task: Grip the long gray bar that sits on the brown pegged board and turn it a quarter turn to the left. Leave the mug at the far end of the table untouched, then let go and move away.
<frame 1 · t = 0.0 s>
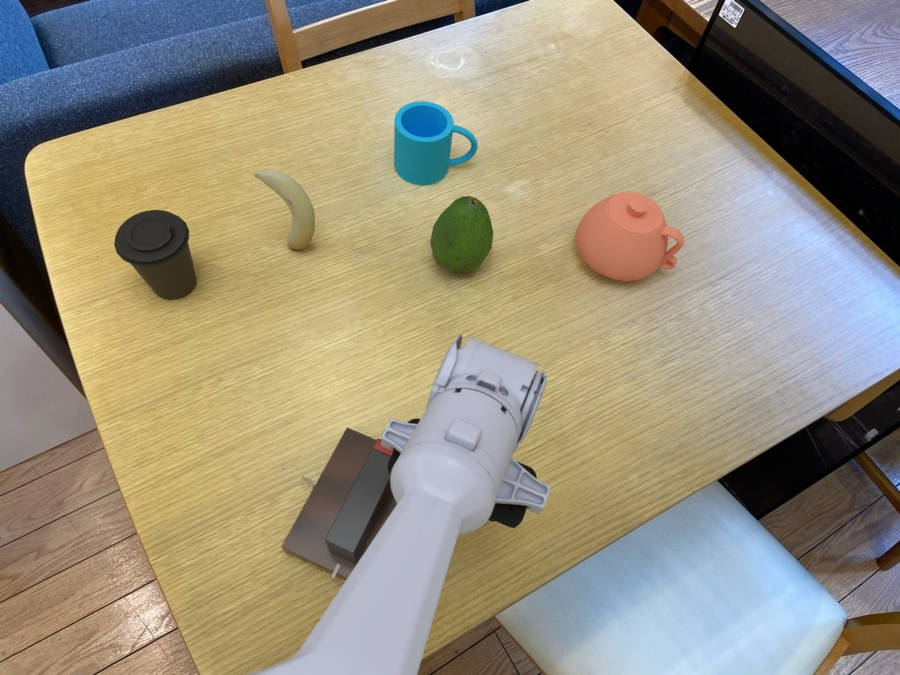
hand: (455, 494, 60), 8 cm above the table, tool pointing down, fingers open, 7 cm apart
mug: (434, 166, 93), on the table
gray bar: (366, 499, 62), point 5 cm above the table, hinge at 0.0°
fruit 2: (457, 263, 85), on the table
sugar bowl: (619, 257, 87), on the table
coffee cup: (175, 283, 79), on the table
brown pegged board: (367, 512, 66), on the table
fruit: (293, 244, 84), on the table
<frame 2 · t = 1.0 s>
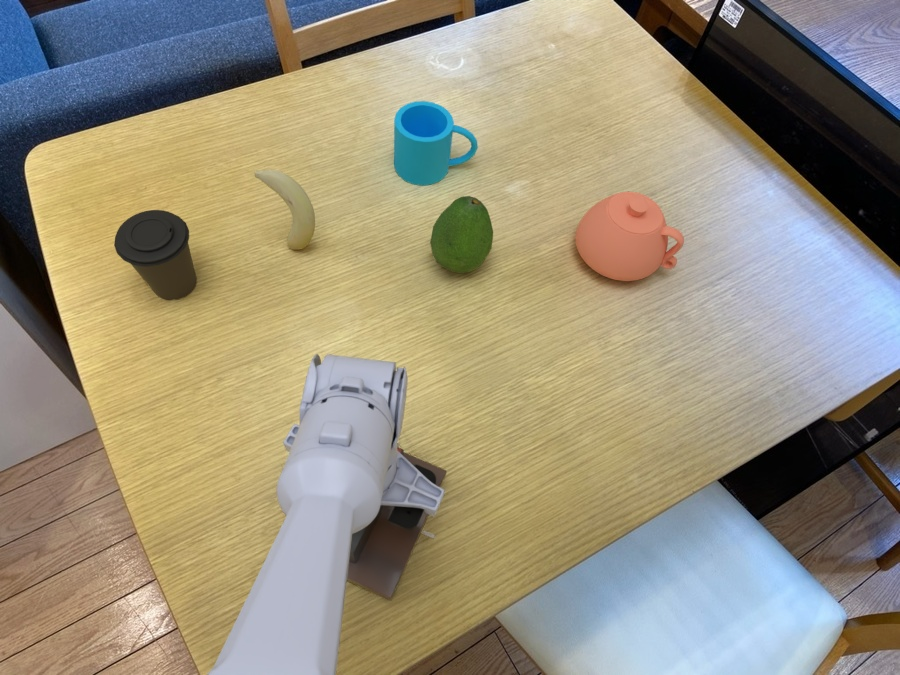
hand: (366, 496, 62), 6 cm above the table, tool pointing down, fingers open, 7 cm apart
nothing on the table moved.
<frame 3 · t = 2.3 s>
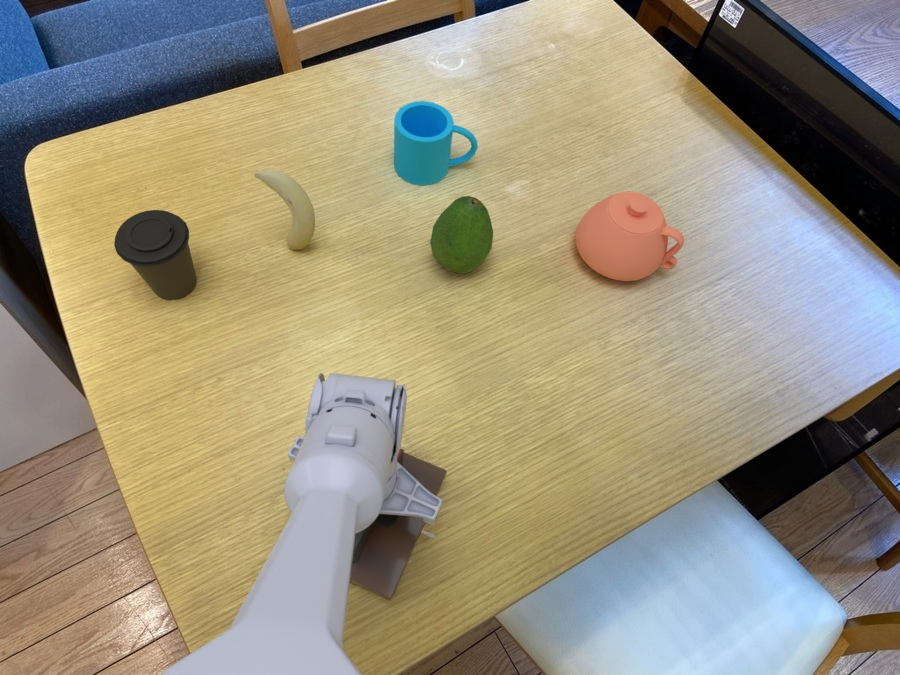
hand: (367, 504, 64), 3 cm above the table, tool pointing down, fingers closed on gray bar, 3 cm apart
gray bar: (366, 499, 62), point 5 cm above the table, hinge at -0.1°, touching gripper
everything else where it was.
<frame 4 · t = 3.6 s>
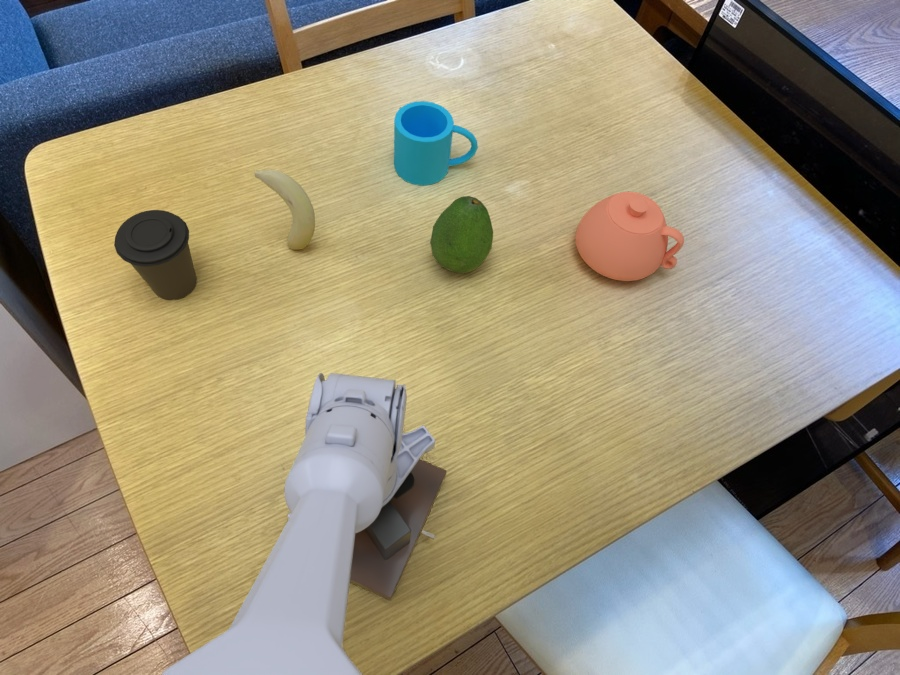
hand: (367, 504, 64), 3 cm above the table, tool pointing down, fingers closed on gray bar, 3 cm apart
gray bar: (366, 499, 62), point 5 cm above the table, hinge at 59.9°, touching gripper
everything else where it was.
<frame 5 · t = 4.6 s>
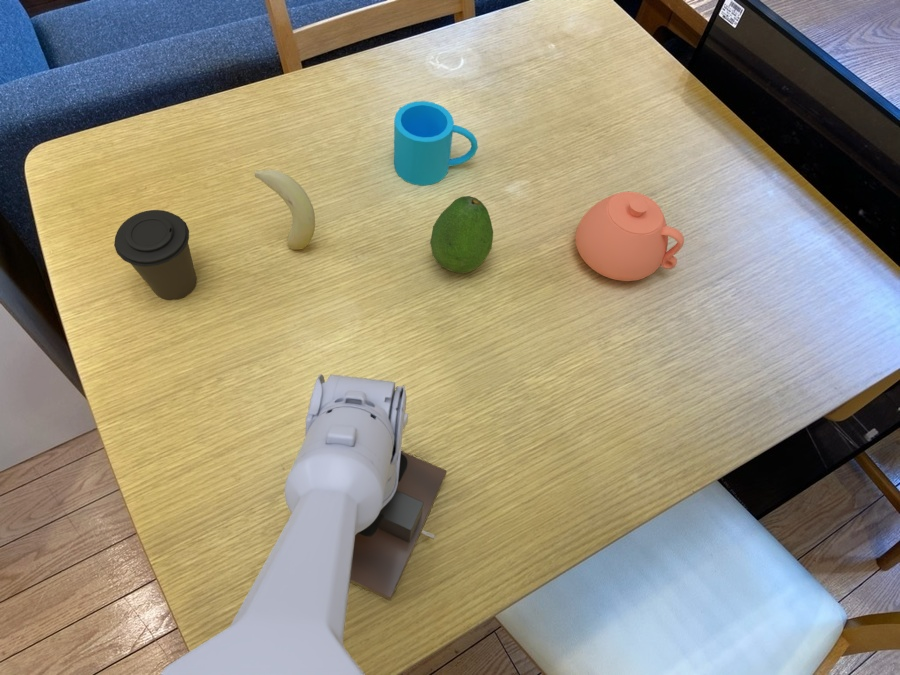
hand: (367, 505, 64), 3 cm above the table, tool pointing down, fingers closed on gray bar, 3 cm apart
gray bar: (366, 499, 62), point 5 cm above the table, hinge at 89.8°, touching gripper
everything else where it was.
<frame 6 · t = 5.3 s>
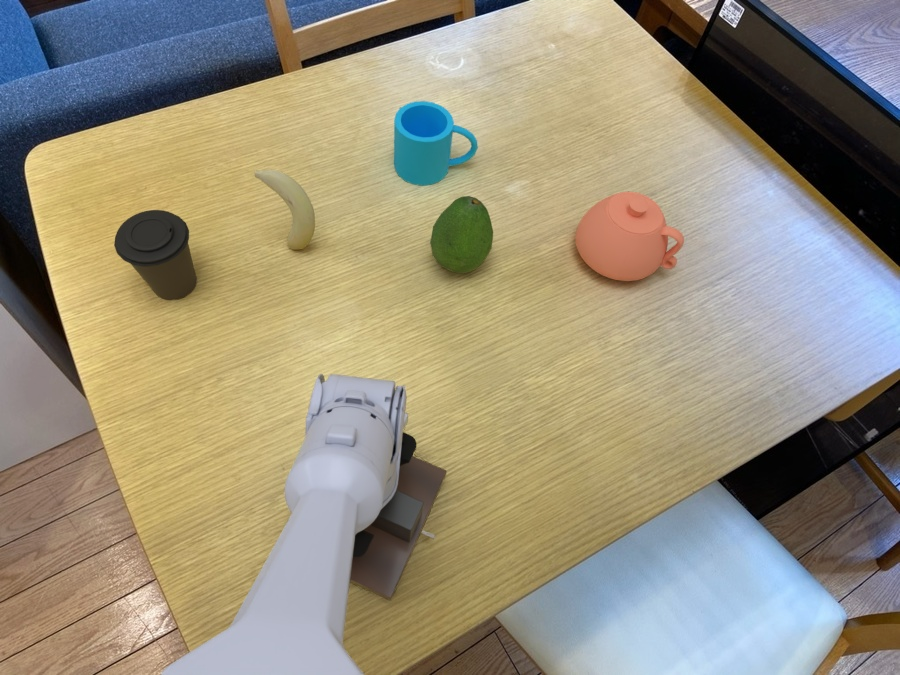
hand: (367, 505, 64), 3 cm above the table, tool pointing down, fingers open, 7 cm apart
gray bar: (366, 499, 62), point 5 cm above the table, hinge at 89.8°
everything else where it was.
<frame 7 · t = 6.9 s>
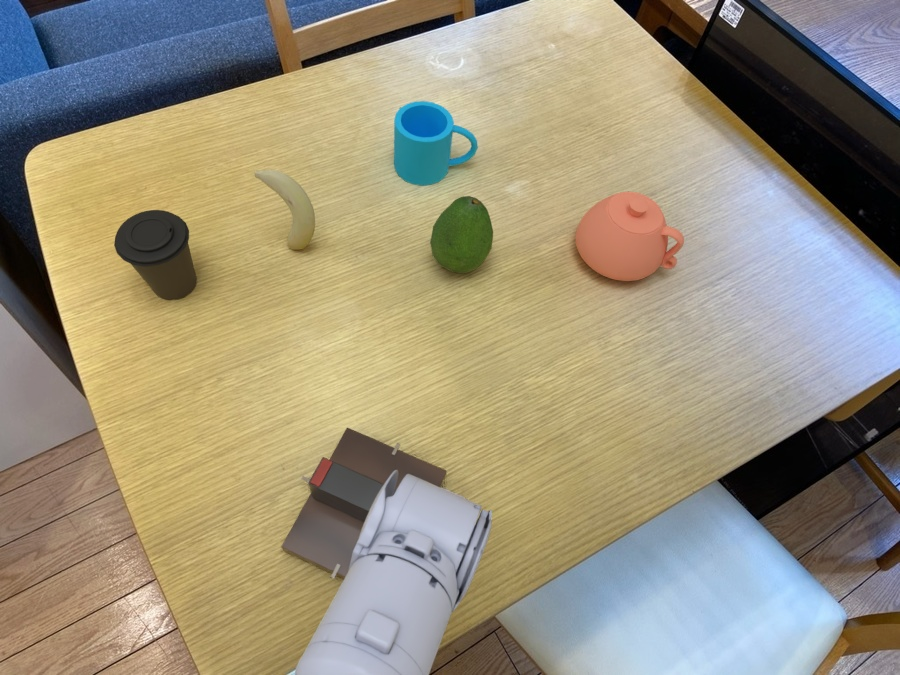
hand: (411, 597, 55), 8 cm above the table, tool pointing down, fingers open, 7 cm apart
nothing on the table moved.
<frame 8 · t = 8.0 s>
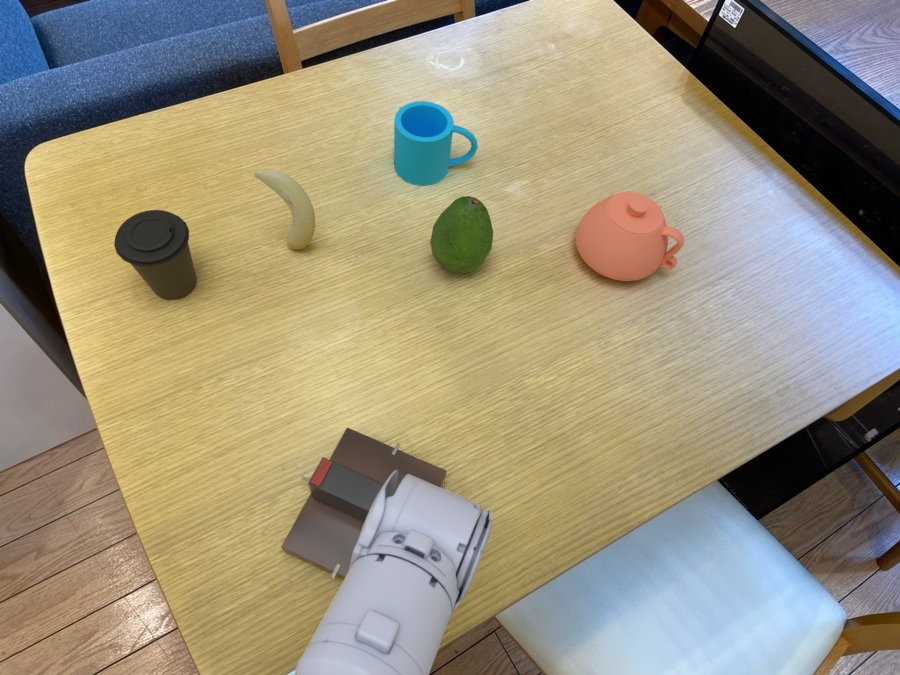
hand: (411, 597, 55), 8 cm above the table, tool pointing down, fingers open, 7 cm apart
nothing on the table moved.
at the end: gray bar at +90° (first picture: +0°); mug moved 0.2 cm from its start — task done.
